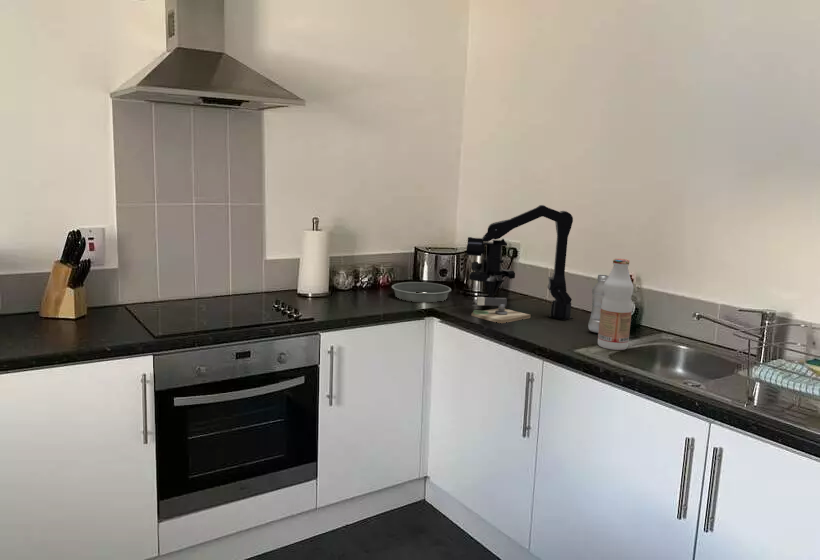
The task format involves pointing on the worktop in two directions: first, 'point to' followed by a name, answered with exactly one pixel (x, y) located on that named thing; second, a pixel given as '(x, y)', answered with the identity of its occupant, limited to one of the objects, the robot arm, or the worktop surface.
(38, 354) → the worktop surface
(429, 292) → the cake pan
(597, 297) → the plastic bottle
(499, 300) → the peg
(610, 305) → the fruit juice
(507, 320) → the beige flat board
